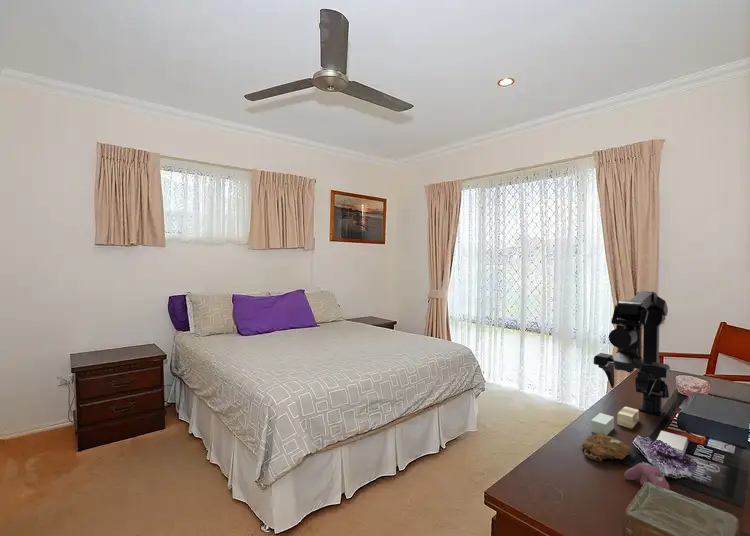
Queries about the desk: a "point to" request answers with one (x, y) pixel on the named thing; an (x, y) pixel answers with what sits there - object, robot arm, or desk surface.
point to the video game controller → (646, 474)
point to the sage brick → (602, 424)
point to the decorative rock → (604, 447)
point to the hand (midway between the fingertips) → (629, 391)
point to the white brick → (674, 441)
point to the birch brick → (628, 417)
